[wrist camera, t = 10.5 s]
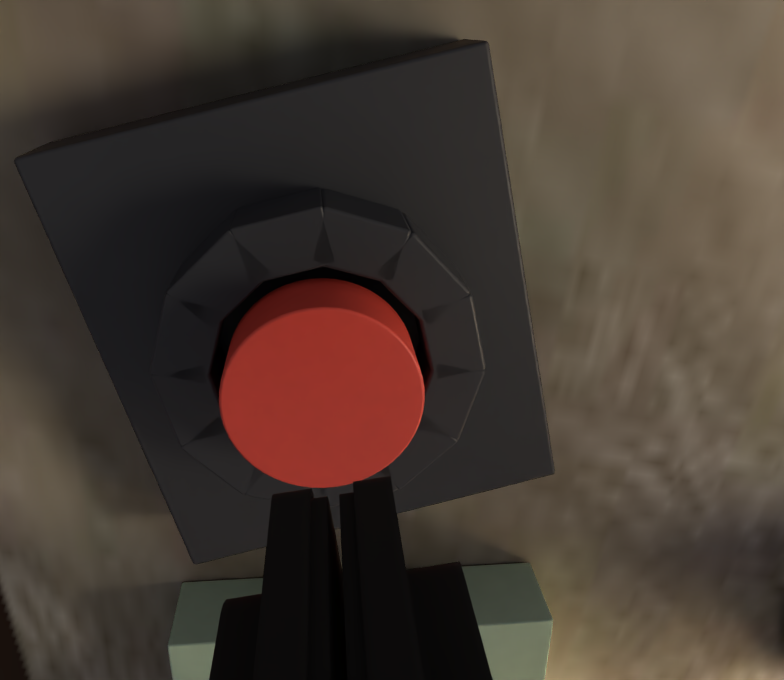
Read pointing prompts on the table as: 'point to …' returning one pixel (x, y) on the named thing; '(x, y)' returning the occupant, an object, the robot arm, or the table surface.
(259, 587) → the console
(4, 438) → the table surface
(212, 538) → the button box
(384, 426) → the button
